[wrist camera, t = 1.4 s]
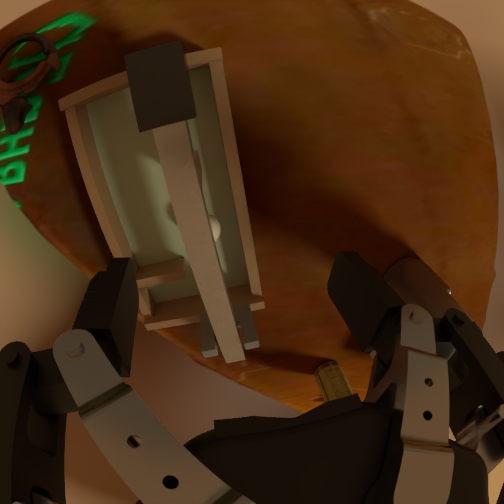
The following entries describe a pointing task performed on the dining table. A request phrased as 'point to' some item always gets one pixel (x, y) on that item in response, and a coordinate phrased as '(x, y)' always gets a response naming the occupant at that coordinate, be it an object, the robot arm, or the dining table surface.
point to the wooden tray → (167, 197)
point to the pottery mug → (24, 82)
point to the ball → (215, 226)
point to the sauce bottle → (332, 381)
